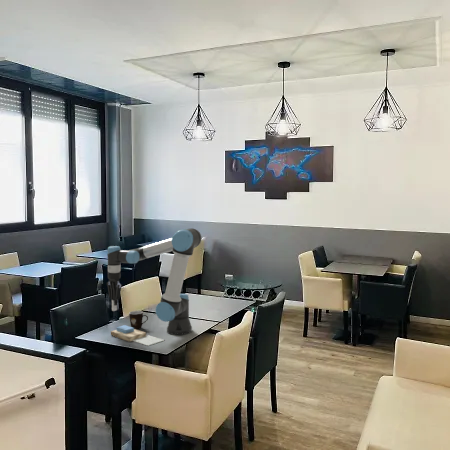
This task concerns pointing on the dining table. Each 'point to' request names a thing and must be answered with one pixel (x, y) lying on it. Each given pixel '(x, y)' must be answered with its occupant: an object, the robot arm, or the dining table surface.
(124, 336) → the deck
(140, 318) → the coffee mug
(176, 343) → the dining table surface
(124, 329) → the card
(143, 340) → the mat
